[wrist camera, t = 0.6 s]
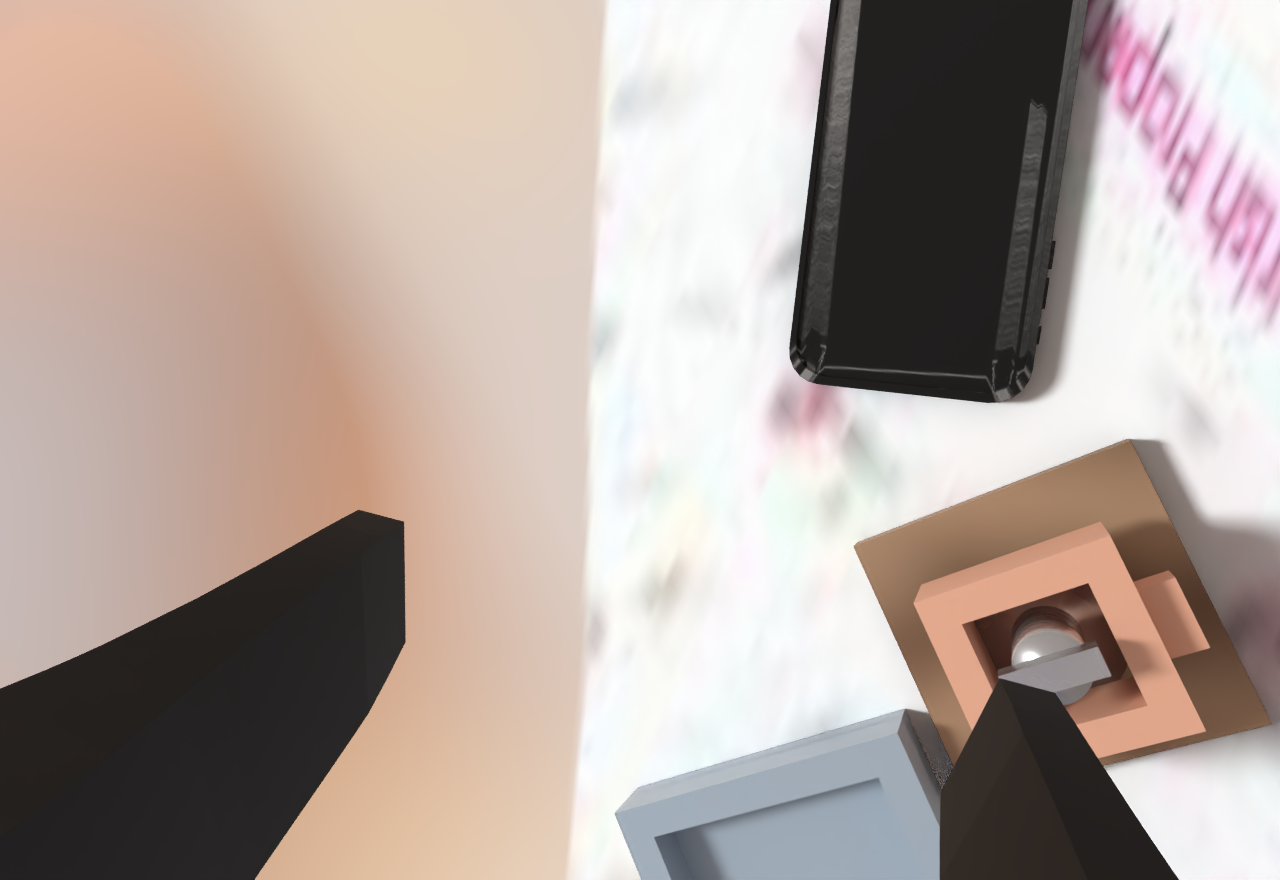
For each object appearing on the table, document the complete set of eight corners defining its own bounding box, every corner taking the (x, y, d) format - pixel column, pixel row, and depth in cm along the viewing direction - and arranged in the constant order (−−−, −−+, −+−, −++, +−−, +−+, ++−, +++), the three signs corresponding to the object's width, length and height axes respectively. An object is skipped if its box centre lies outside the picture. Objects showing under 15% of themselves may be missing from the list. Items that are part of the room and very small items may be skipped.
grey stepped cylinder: (1151, 672, 26) (1181, 733, 21) (1006, 713, 27) (1007, 776, 23) (1086, 538, 26) (1102, 570, 22) (947, 586, 28) (936, 624, 23)
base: (1264, 714, 25) (1272, 724, 24) (969, 788, 29) (968, 798, 28) (1127, 439, 26) (1130, 440, 25) (857, 542, 30) (853, 546, 29)
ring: (1225, 688, 24) (1248, 720, 22) (996, 748, 26) (996, 783, 24) (1136, 508, 24) (1150, 521, 22) (921, 584, 27) (913, 603, 25)
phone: (785, 380, 30) (839, -72, 28) (792, 380, 31) (845, -55, 29) (1030, 407, 27) (1107, -98, 25) (1030, 406, 28) (1103, -79, 26)
